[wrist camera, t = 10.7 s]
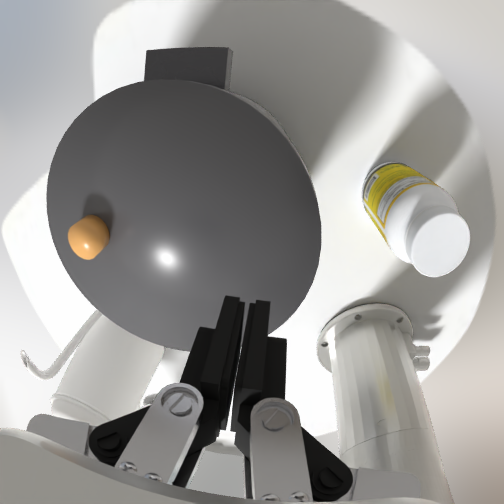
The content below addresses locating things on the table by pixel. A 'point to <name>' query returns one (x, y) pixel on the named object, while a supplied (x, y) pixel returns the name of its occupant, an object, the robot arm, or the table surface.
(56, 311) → the table surface
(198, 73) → the cooker pot
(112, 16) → the table surface
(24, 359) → the coffeepot
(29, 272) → the table surface
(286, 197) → the cooker lid
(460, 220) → the pill bottle
